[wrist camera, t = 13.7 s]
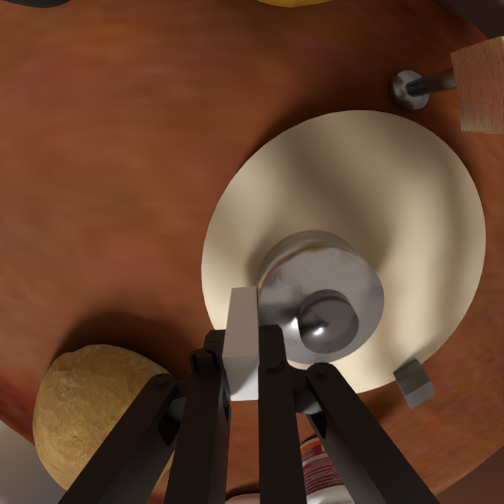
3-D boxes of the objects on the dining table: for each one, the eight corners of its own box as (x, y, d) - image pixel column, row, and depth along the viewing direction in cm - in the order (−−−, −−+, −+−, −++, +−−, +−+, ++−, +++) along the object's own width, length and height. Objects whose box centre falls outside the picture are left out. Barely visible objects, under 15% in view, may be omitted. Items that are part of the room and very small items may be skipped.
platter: (303, 423, 26) (308, 456, 22) (141, 226, 19) (115, 245, 15) (492, 309, 22) (516, 331, 18) (414, 65, 15) (447, 52, 11)
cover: (286, 342, 21) (295, 398, 16) (236, 263, 19) (230, 308, 14) (375, 298, 20) (407, 343, 14) (336, 210, 18) (369, 235, 12)
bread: (228, 374, 26) (220, 465, 16) (142, 488, 36) (130, 533, 27) (52, 284, 23) (-14, 342, 14) (45, 441, 33) (24, 482, 24)
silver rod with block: (393, 131, 19) (509, 130, 8) (386, 70, 17) (490, 25, 6) (426, 133, 19) (543, 139, 8) (419, 75, 17) (528, 44, 6)
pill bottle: (286, 448, 30) (293, 529, 19) (329, 427, 29) (348, 511, 18) (314, 463, 31) (325, 534, 21) (354, 443, 30) (374, 517, 19)
